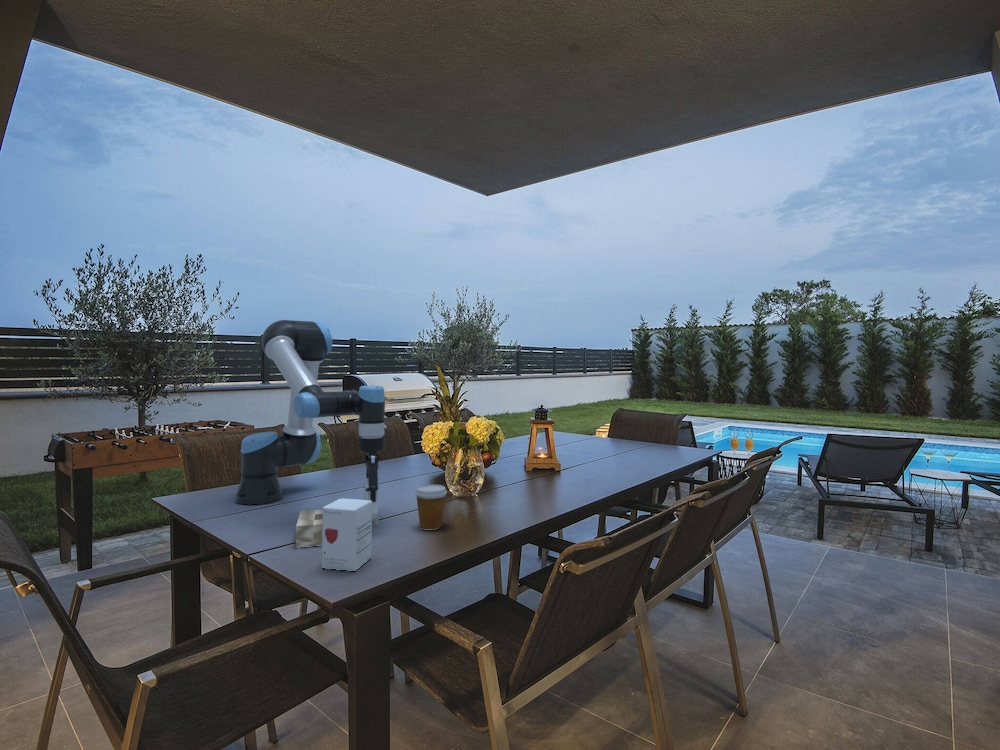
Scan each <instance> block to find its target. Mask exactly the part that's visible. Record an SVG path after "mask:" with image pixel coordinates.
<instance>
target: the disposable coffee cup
mask: <svg viewBox="0 0 1000 750" xmlns="http://www.w3.org/2000/svg"><path fill="white" fill-rule="evenodd" d="M447 493H448V490H447V489H446V487H445V485H441V484H423V485H419V486H417V487H416V490H415V492H414V494H415V496H416V502H417V503H416V505H417V510H418V511H417V512H418V520H419V522H418V523H419V528H422V529H436V528H439V527H441V528H442V523H443V516H444V510H445V501H446V496H447ZM422 529H421V530H422Z"/></svg>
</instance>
